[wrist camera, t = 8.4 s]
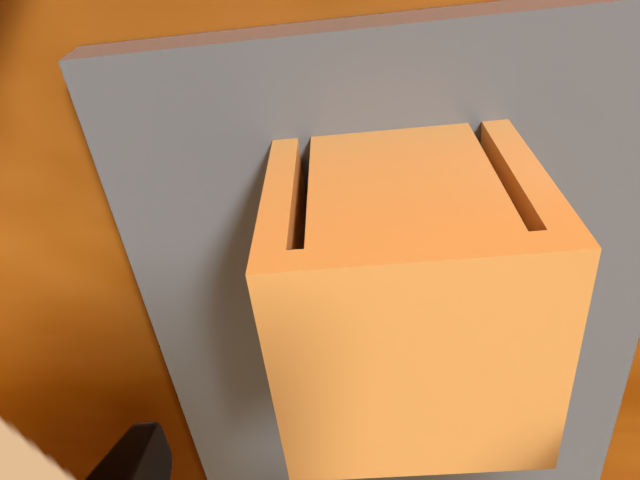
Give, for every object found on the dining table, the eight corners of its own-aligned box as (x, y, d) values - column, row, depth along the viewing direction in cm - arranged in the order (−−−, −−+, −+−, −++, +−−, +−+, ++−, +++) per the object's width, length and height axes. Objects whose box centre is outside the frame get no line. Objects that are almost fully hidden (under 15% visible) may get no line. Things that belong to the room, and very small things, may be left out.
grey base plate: (572, 507, 23) (624, 640, 19) (236, 523, 24) (219, 654, 20) (702, -21, 12) (884, 33, 8) (78, 46, 13) (-31, 124, 9)
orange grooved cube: (492, 303, 16) (555, 468, 11) (299, 316, 16) (290, 481, 12) (508, 119, 13) (601, 248, 8) (272, 140, 13) (244, 275, 9)
